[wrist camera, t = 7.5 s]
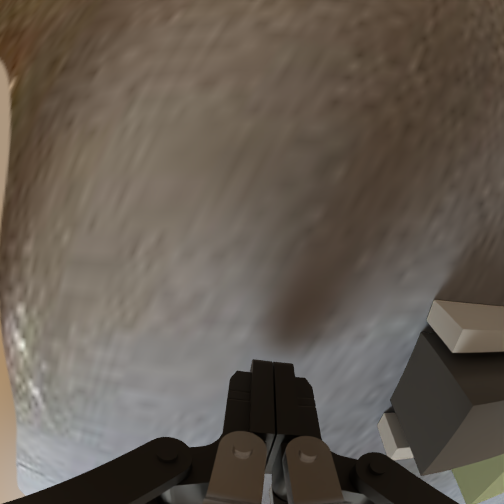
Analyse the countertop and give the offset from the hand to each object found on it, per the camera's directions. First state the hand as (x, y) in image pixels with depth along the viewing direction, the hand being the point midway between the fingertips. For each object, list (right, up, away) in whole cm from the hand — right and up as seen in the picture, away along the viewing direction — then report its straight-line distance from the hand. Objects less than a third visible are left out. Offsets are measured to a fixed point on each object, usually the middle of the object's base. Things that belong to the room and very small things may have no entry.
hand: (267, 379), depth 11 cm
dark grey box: (+10, -1, +1) cm, 10 cm away
